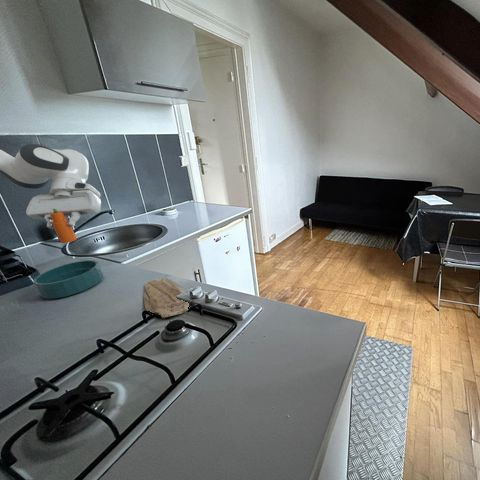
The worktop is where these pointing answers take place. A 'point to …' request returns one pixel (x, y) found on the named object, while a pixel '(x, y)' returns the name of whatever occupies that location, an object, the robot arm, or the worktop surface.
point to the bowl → (68, 279)
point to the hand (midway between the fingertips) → (61, 226)
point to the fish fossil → (164, 298)
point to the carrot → (62, 227)
